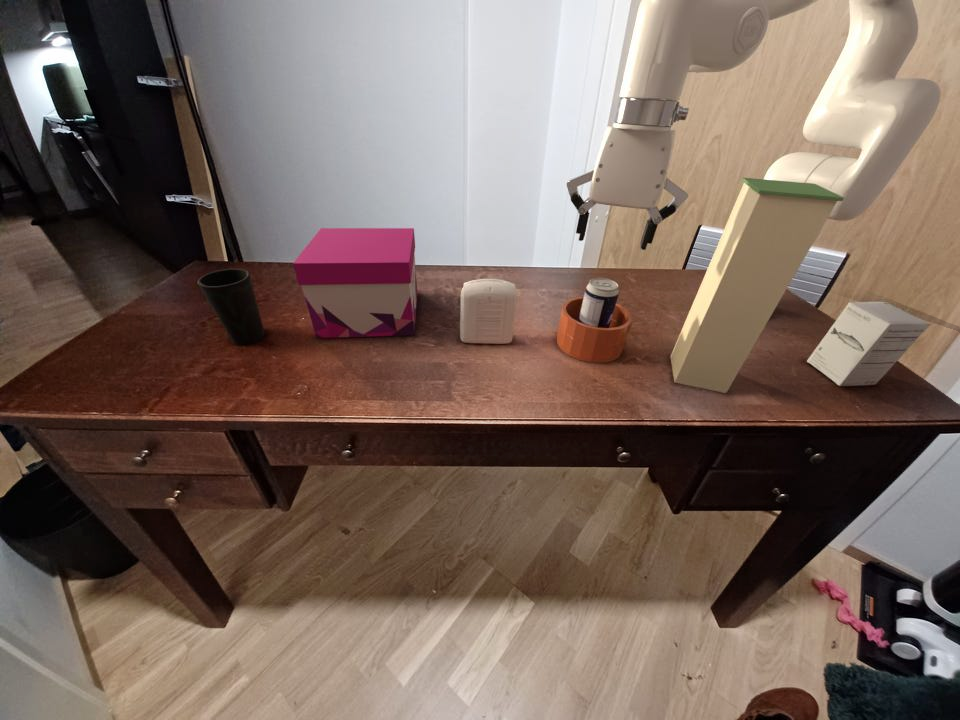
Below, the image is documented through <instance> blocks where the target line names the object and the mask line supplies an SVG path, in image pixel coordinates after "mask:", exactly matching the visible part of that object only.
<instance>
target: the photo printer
mask: <svg viewBox="0 0 960 720" xmlns="http://www.w3.org/2000/svg"><path fill="white" fill-rule="evenodd" d="M517 303H518V292H517V286H516V284H515V283H513V282H511V281H508V280H504V279H498V278H479V279H473V280H469V281H466V282H463V287H462V289H461V291H460V308H459V309H460V311H459V313H460V314H459V315H460V317H459V339H460V341H461V342H462V343H466V344H494V345H495V344H497V345H499V344H500V345H501V344H503V345H505V344H510V343H511V342H513V339H514V338H513V336H514V327H515V320H516V312H517V311H516V310H517Z"/></svg>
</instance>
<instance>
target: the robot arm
mask: <svg viewBox="0 0 960 720" xmlns="http://www.w3.org/2000/svg"><path fill="white" fill-rule="evenodd" d="M817 1H818V0H640V2H639V6H638V10H637V14H636V17H635V22H634V27H633V31H632V37H631V41H630V45H629V50H628V54H627V58H626V63H625V67H624V72H623V77H622V78H623V79H622V82H621V87H620V92H619V98H618V100H617V105H616V108H615V109H616V110H615V115H614V119H613V123H612V125H607V127H606V129H605V132H604V134H603V137H602V140H601V143H600V146H599V150H598V153H597V157H596V161H595V165H594V169H592V170H589V171H587V172H585V173H582V174H580V175H578V176H577V175H576V176H575V177H573V178H571V179H569V180H568V181H567V182H566V188H567V191H568V195H569V197H570V202H571V203H572V205H573V207H575V209H576V210H577V213H578V221H577V225H576V230H575V234H578V235H579V237H578V241H579V242H582V241H584V239H585V236H586V232H587V227H588V223H589V217H590V210H591V209H592V208H593V207H594V206H596V204H598V205H605V206H611V207H612V206H613V207H622V208H629V209H637V210H638V209H639V210H647V213H648V215H649V218H648V219H647V220H646V223H645V226H644V229H643V233H642V236H641V239H640V242H639V245H640V250H642V251H646V249H647V247H648V244H651V245H652V244H653V240H654V238H655V235H656V232H657V228H658V226H659V225H660V224H661V223H662V222H663V221H664V220H666V219H668V218H669V217H670V216H672V215H674V214H675V213H676V211H677V210H678V209H679V208H680V207H681V206H682V205H683V204H684V203H685V202H686V201H687V200H688V198H689V193H688V192H687V191H686V190H685V189H683V188H682V187H681V186H680V185H678V184H677V183H676V182H674V180H673V181H672V179H670V178H669V177H668V172H669V169H670V164H671V161H672V160H671V159H672V154H673V149H674V144H675V137H676V130H675V129H672V127H673V125H674V123H676V122H679V121H686V119H687V117H688V113H689V109H690V108H689V107H684V106H681V104H680V99H681V96H682V94H683V93H682V92H683V89H684V86H685V83H686V79H687V76H688V73H696V74H697V73H700V74H701V73H720V72H721V73H722V72H725V71H729V70H732V69H734V68H736V67H739V66H740V65H741V64H744V63H746V61H747V60H748V59H749V58H751V57H752V56H753V55H754V53H756V51H757V50H758V49H759V47H760V45H761V44H762V42H763V40H764V38H765V36H766V33H767V30H768V27H769V21H773V20H777V19H779V18H782V17H784V16H788V15H790V14H793V13H795V12H798V11H801V10H803V9H805V8H808V7H809V6H811V5H812V4H814V3H816V2H817ZM848 7H849V28H848V35H847V38H846V41H845V44H844V47H843V48H842V51H841V53H840V54H839V57H838V59H837V60H836V63H835V65H834V66H833V68H832V70H831V72H830V74H829V75H828V78H827V80H826V81H825V83H824V85H823V87H822V89H821V90H820V92H819V94H818V96H817V98H816V99H815V101H814V103H813V105H812V107H811V109H810V111H809V112H808V115H807V116H806V119H805V121H804V125H803V127H802V135H803V137H804V139H806V141H808V142H810V143H814V144H819V145H824V146H832V147H838V148H839V147H841V148H849V149H857V150H861V152H860V153H859V156H858V158H853V157H846V156H840V155H835V154H827V153H821V152H813V151H795V152H792V153H787V154H785V155H783V156H781V157H780V158H778V159H776V160H775V161H774V162H773V163H772V164H771V165H770V167H769V168H768V169H767V171H766V173H765V175H764V177H763V179H764V180H776V181H788V182H800V183H812V184H817V185H819V186H821V187H823V188H825V189H827V190H829V191H831V192H833V193H835V194H838V195H840V196H842V197H844V199H843V201H837V203H836V204H835V206H834V208H833V210H832V211H831V213H830V215H829V217H828V218H827V220H833V221H840V222H844V221H845V222H847V221H851V220H854V219H856V218H858V217H859V216H861V215H863V214H864V213H865V212H866V211H867V210H868V209H869V208H870V207H871V206H872V205H873V204H874V202H875V201H876V200H877V199H878V198H879V196H880V195H881V194H882V192H883V191H884V189H885V188H886V186H888V184H889V182H890V181H891V179H892V178H893V176H894V175H895V173H896V172H897V171H898V169H899V168H900V167H901V165H902V164H903V162H904V161H905V160H906V158H907V156H908V155H909V154H910V152H911V151H912V149H913V148H914V147H915V145H916V144H917V142H919V139H920V138H921V136H922V135H923V133H924V132H925V130H926V129H927V128H928V127H929V124H930V123H931V121H932V119H933V117H934V116H935V114H936V111H937V109H938V107H939V103H940V100H941V88H940V86H939V85H938V83H937V82H935V81H933V80H931V79H926V78H896V77H897V75H898V73H899V71H900V69H901V68H902V67H903V65H904V63H905V61H906V59H907V58H908V56H909V54H910V53H911V51H912V49H914V46H915V44H916V42H917V40H918V35H919V20H918V14H917V12H916V8H915V5H914V1H913V0H848ZM589 182H590V185H589V186H590V187H589V194H588V197H587V198H586V199H585V200H584V199H583V197H582V196H581V195H580V193H579V188H578V187H580V186H582V185H584V184H587V183H589ZM664 190H665V191H667V192H668V193H669V194H671V195H672V196H673V198H672V199H671V201H670V203H668V204H667V205H665V206H664V207H662V208H660V209H659V207H658V205H659V203H660V201H661V198H662V195H663V192H664Z"/></svg>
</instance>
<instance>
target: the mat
mask: <svg viewBox="0 0 960 720" xmlns="http://www.w3.org/2000/svg"><path fill="white" fill-rule="evenodd" d="M741 182H743V184H744V183H745V184H747V185H748V186H749V187H751V188H752V189H753V190H754V191H756V192H757V193H758V194H769V195H780V196H791V197H802V198H812V199H823V200H834V201H843V199H844V197H842V196H840V195H838V194H835V193H833V192H831V191H829V190H827V189H825V188H823V187H821V186H819V185H817V184H812V183H800V182H788V181H776V180H764V178H752V177H742V179H741Z"/></svg>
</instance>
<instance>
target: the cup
mask: <svg viewBox="0 0 960 720" xmlns="http://www.w3.org/2000/svg"><path fill="white" fill-rule="evenodd" d="M197 286H198V287H199V288H200V290H201V292H202V293H203V295H204V296H205V298H206V301H207V302H208V303H209V305H210V307H211V308H212V310H213V313H214V314H215V316H216V317H217V319H218V320H219V322H220V323H221V325H222V327H223V329H224V330H225V332H226V334H227V336H228V337H229V339H230V341H231V343H233V344H235V345H238V346H243V345H244V346H245V345H251V344H253V343H256V342H258V341H260V340H262V339H263V338H264V337H265V335H266V334H265V329H264V324H263V321H262V317H261V314H260V309H259V305H258V301H257V297H256V294H255V290H254V286H253V281H252V277H251V274H250V272H249V271H248V270H245V269H242V268H225V269H220V270H219V269H218V270H215V271H211V272H209V273H206V274H204V275H203V276H201V277H199V279H198V280H197Z"/></svg>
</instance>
